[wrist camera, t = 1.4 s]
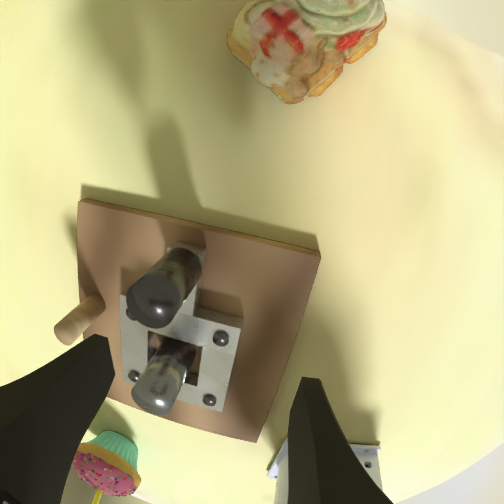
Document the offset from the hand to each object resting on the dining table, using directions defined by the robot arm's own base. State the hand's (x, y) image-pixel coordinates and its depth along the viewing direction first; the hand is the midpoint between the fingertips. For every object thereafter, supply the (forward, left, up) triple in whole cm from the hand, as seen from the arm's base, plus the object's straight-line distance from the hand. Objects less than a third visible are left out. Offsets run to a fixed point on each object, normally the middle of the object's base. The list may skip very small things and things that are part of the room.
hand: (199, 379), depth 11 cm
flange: (+3, +5, -9) cm, 10 cm away
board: (+4, +7, -10) cm, 12 cm away
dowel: (+10, +5, -10) cm, 15 cm away
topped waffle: (-1, -14, -10) cm, 18 cm away
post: (+3, +7, -10) cm, 12 cm away
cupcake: (+10, +26, -10) cm, 29 cm away
